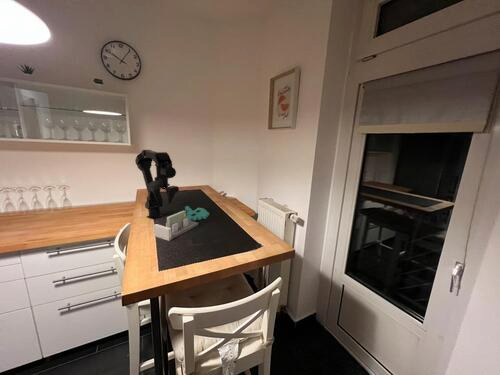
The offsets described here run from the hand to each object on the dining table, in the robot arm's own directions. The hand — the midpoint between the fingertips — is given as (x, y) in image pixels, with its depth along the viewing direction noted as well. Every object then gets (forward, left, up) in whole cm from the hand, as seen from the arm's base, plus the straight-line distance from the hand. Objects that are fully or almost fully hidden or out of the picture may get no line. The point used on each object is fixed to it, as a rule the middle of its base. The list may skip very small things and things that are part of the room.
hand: (163, 202), depth 119 cm
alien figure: (+5, +19, -14) cm, 24 cm away
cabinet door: (+13, -3, -12) cm, 18 cm away
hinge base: (+13, -3, -13) cm, 19 cm away
